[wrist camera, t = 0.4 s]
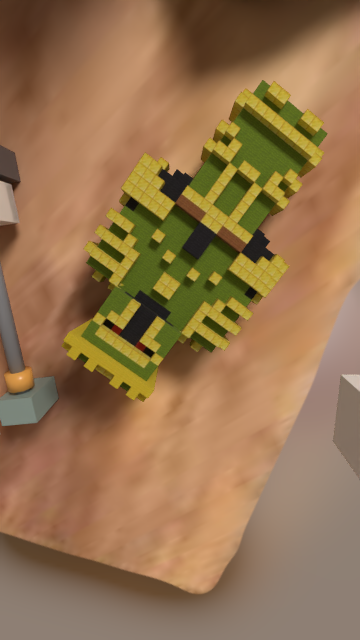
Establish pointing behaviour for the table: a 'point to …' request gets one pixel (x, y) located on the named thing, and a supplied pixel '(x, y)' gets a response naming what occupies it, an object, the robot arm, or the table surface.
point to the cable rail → (23, 390)
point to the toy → (195, 242)
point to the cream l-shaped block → (7, 205)
